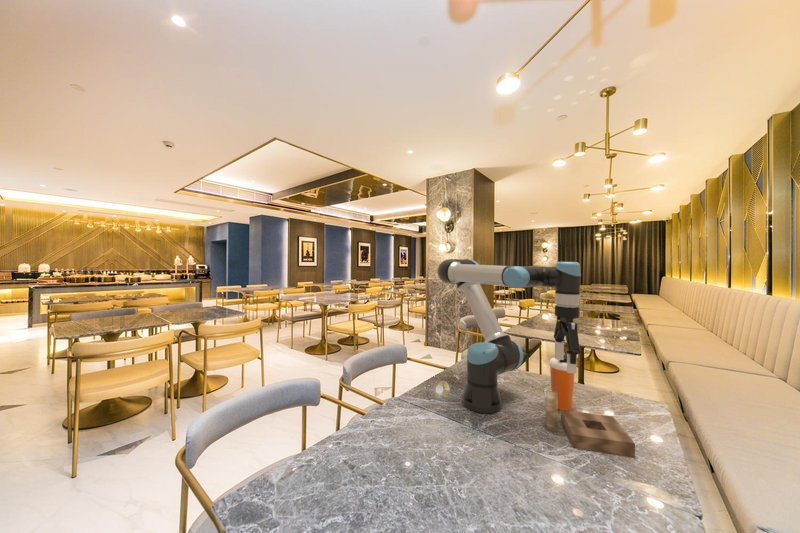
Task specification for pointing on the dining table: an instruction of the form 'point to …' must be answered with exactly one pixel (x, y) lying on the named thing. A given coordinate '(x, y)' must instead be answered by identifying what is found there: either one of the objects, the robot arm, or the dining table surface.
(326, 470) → the dining table surface
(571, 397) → the shaker bottle
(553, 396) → the peg
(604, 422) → the socket block
